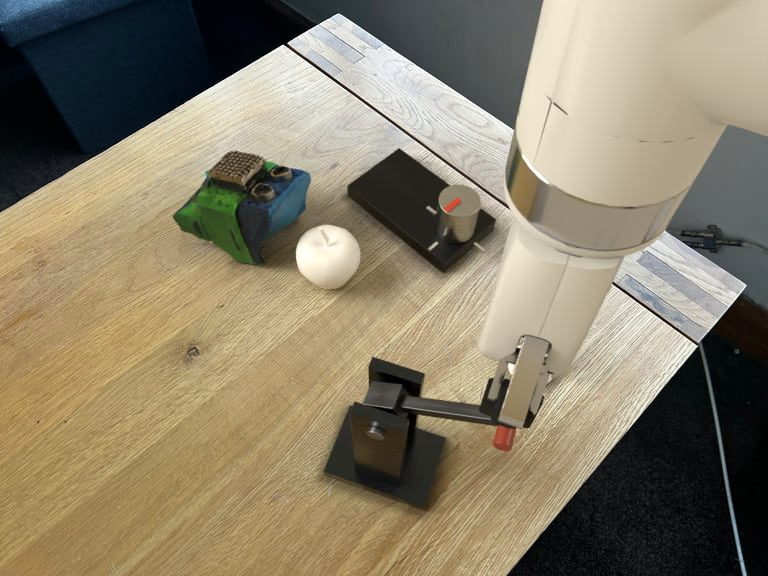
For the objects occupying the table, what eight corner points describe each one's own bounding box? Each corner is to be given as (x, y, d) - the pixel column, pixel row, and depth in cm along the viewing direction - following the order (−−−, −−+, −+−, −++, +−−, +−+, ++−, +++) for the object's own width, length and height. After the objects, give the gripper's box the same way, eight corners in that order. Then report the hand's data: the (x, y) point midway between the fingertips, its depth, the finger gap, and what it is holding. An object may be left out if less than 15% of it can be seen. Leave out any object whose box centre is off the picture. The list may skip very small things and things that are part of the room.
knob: (454, 206, 78) (458, 176, 74) (483, 228, 76) (489, 199, 72) (426, 227, 76) (430, 197, 72) (456, 251, 75) (461, 222, 70)
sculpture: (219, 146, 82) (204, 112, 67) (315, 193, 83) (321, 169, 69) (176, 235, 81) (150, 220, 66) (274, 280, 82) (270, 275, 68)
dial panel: (506, 239, 78) (509, 227, 76) (455, 283, 75) (457, 273, 73) (398, 158, 85) (399, 146, 83) (347, 196, 81) (346, 184, 80)
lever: (529, 399, 49) (521, 383, 47) (515, 456, 46) (506, 441, 45) (387, 382, 55) (376, 367, 53) (369, 432, 52) (356, 417, 51)
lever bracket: (445, 441, 65) (463, 373, 51) (424, 511, 61) (437, 456, 48) (350, 409, 66) (343, 335, 53) (323, 475, 63) (310, 412, 50)
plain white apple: (327, 239, 78) (322, 194, 71) (373, 271, 75) (373, 228, 69) (285, 277, 75) (277, 234, 68) (332, 312, 72) (328, 271, 66)
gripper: (554, 29, 33) (502, 234, 48) (452, 303, 25) (426, 452, 39) (706, 64, 32) (606, 264, 46) (654, 367, 23) (550, 497, 38)
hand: (524, 350), depth 43 cm, fingers open, 9 cm apart
